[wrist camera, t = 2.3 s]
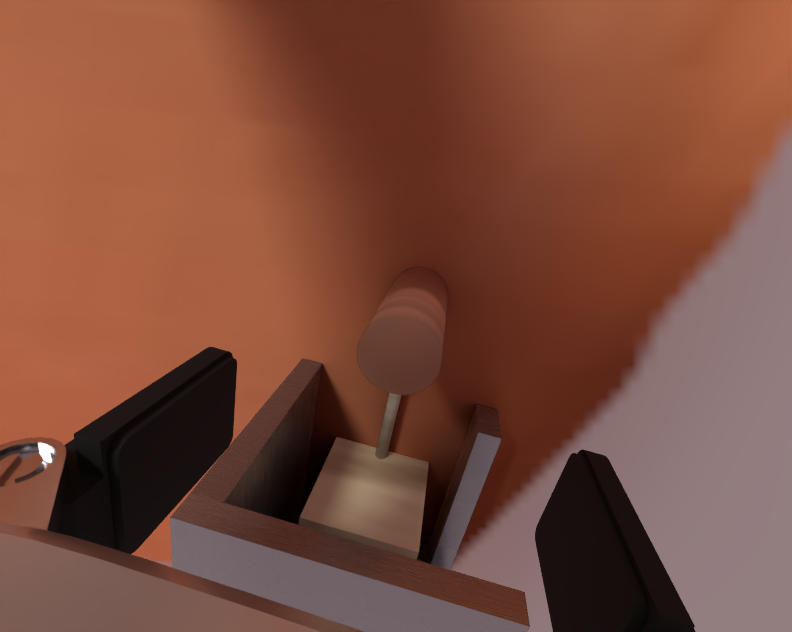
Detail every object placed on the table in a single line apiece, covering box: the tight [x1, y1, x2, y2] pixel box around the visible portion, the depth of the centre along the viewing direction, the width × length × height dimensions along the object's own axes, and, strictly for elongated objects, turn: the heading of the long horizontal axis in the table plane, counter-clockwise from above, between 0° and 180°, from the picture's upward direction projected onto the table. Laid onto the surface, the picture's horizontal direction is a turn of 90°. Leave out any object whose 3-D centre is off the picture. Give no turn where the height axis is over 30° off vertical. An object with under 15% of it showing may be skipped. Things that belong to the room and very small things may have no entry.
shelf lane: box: [170, 359, 530, 632], centre depth 19 cm, size 13×12×11 cm
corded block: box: [299, 267, 448, 560], centre depth 19 cm, size 18×6×7 cm, turn 168°
